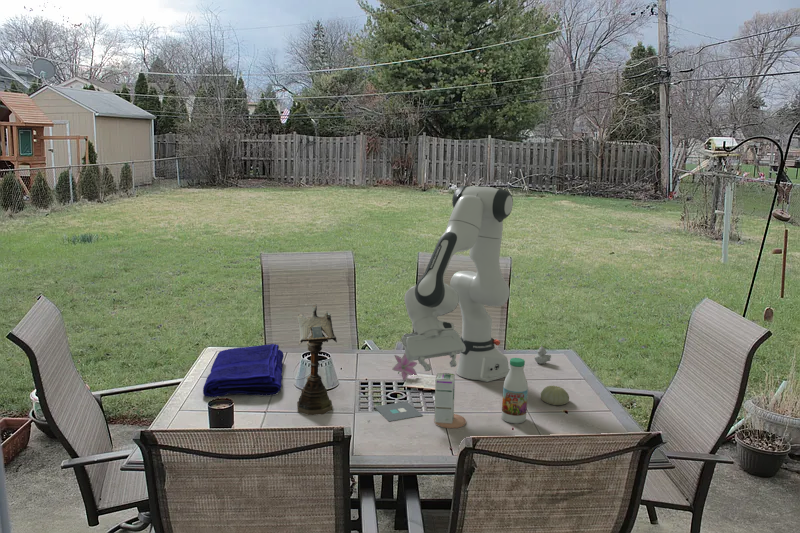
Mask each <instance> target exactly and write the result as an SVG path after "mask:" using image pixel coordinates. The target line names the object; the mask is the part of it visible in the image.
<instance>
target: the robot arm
mask: <svg viewBox="0 0 800 533" xmlns="http://www.w3.org/2000/svg"><path fill="white" fill-rule="evenodd" d="M451 202H452V203H451V204H452V207H453V209H452V211H451V214H450V216H449V219H448V222H447V226H446V228H445V231H444V232H443V234H442V235H441V236H440V237H439V239H438V241H437V243H436V245H435V248H434V249H433V252H432V255H431V257H430V259H429V261H428V264H427V266H426V269H425V270H424V272H423V274H422V275H421V277H420V278H419V279H418V281H417V283H416V284H415V285H414V286H412V287H410V288H409V289H408V290H407V291H406V292H405V294H404V305H405V309H406V312H407V315H408V318H409V319H410V321H411V326H412V330H413V332H409V333H404V334H403V335H402V336H401V343H402V345H403V347H404V354H406V358H407V359H408V360H409V361H414V362H416V361H418V364H420V365H421V367H423V369H424V372H430V371H431V370H432V367H431V364H430V363H427V362H426V361H425V360H427V359H433V358H440V357H441V358H442V357H448V356H449V358H451V360H450V361H449V366H450V368H455V367H456V366H457V367H456V371H455V372H456V375H458V376H460V377H461V378H465V379H468V380H473V381H474V380H476V381H482V382H488V383H489V382H491V381H496V380H499V379H502V378H506V376H507V375H508V373H509V370H510V364H509V360H508V357H507V356H506V354H504V353H502V351H501V350H499V349H498V348H497V347H495V345H496V346H500V345H501V341H500V340H499V339H495V338H492V332H493V330H492V329H493V328H492V327H493V318H492V317H491V316H492V315H490V314H489V313H488V311H487V309H486V307H485V306H488V307H502V306H504V305H505V304H506V303H507V302H508V300H509V297H510V294H511V293H510V292H511V291H510V286H509V284H508V283H507V282H506V280H505V278H504V276H503V274H502V271H501V266H500V255H501V247H502V241H503V240H502V239H503V232H504V231H503V230H504V229H503V228H504V227H503V226H504V225H503V224H504V220H505V219H507V218H508V217H509V216H510V215H511V213H512V211H513V207H514V206H513V205H514V197H513V196H512V194H511V192H510V191H508V190H506V189H503V188H500V189H499V188H496V187H491V186H476V185H475V186H470V185H461V186H459V187H457V188H456V190H454V193H453V195H452V201H451ZM466 251H469V258H470V259H471V261H472V262H473V263H474V266H475V269H476V272H475V271H472V270H459V271H457V272H455V273H454V274H453V275H452V277H451V279H450V282H449V284H447V283H446V282H445V276H446V272H447V270H448V267H449V265H450V263H451V260H452V258H453V256H454V255H456V253H461V252H466ZM458 305H459V309H460V314H461V319H462V320H461V324H462V326H461V327H462V328H461V329H462V330H461V336H460V334H459V332H457V330H456V329H455V324H454V323H453V322H450V321H449V322H448V321H443V320H440V319H438V317H441V316H444V315H448V314H450V313H452V312H453V311H455V309H456V308H457V307H458ZM457 355H459V358H458V364H457V362H456V358H457Z"/></svg>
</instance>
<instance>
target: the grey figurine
mask: <svg viewBox="0 0 800 533" xmlns="http://www.w3.org/2000/svg"><path fill="white" fill-rule="evenodd" d="M551 358H552V355H551V354H549V353H547V350H546V348H544V347H543V345H542V344H541V346H540V347H539V348H538V350H536V355H535V356H534V361H535V362H536V363H537V364H539V365H544V364H546V363H547V362H550V361H551Z"/></svg>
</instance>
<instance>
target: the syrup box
mask: <svg viewBox="0 0 800 533" xmlns="http://www.w3.org/2000/svg"><path fill="white" fill-rule="evenodd" d="M455 375H456V374H455V373H447V372H437V373H436V376H435V387H434V390H435V391H434V418H435V422H437V423H448V424H452V422H453V418H454V414H455V381H456V376H455ZM435 422H434V423H435Z"/></svg>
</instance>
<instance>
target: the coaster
mask: <svg viewBox="0 0 800 533" xmlns="http://www.w3.org/2000/svg"><path fill="white" fill-rule="evenodd" d="M433 422H434V423H435V425H437V426H438V427H441V428H444V429H445V428H446V429H459V428H462V427H465V425H467V424H466V422H467V420H466V418H465V417H464V416H462V415H459V414H456V413H454V418H453V422H452V424H448V423H437V422H435V417H434V419H433Z"/></svg>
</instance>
